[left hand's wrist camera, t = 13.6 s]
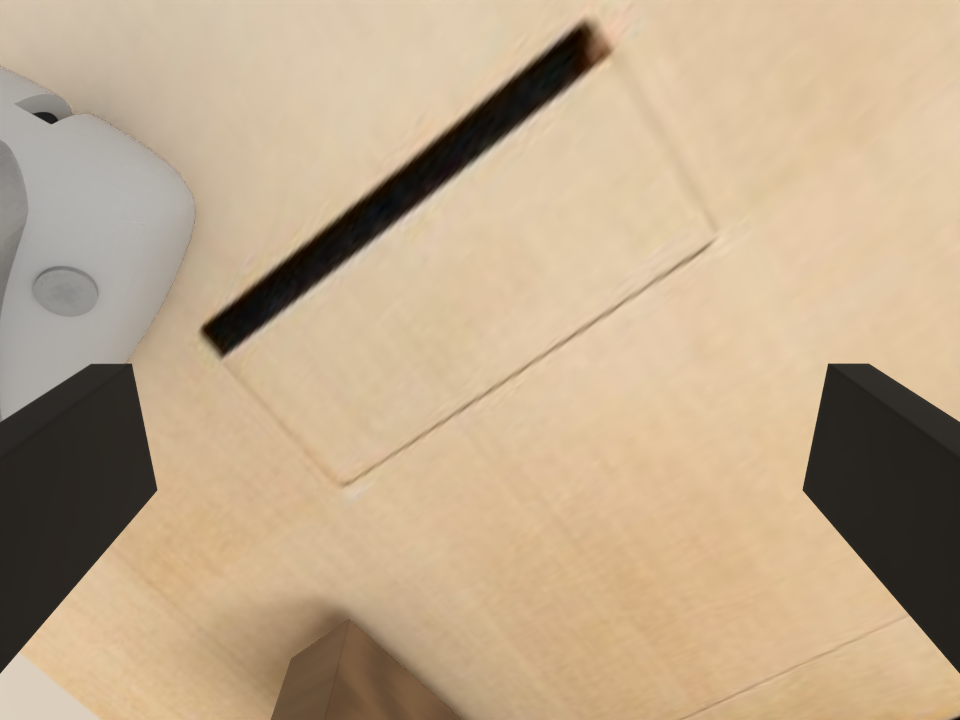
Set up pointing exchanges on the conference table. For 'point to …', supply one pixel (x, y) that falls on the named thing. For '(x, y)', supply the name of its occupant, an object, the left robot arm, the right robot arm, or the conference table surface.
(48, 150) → the projector
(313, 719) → the box
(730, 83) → the conference table surface
